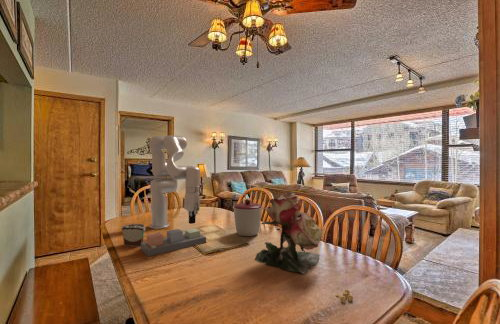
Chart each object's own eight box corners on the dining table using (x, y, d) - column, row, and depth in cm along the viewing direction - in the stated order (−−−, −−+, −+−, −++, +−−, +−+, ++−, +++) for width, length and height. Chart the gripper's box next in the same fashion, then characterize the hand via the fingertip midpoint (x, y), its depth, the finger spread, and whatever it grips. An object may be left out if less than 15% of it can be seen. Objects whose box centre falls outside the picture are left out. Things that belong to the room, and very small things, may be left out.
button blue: (166, 240, 125) (166, 230, 125) (177, 238, 129) (178, 228, 129) (171, 243, 121) (171, 233, 121) (182, 241, 124) (182, 231, 124)
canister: (227, 236, 140) (227, 200, 140) (240, 228, 157) (240, 196, 157) (256, 240, 133) (256, 202, 133) (266, 231, 150) (266, 197, 150)
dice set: (348, 294, 81) (348, 289, 81) (356, 303, 76) (356, 297, 76) (333, 295, 81) (333, 290, 81) (341, 304, 76) (341, 298, 76)
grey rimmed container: (150, 242, 129) (150, 223, 129) (143, 246, 123) (143, 227, 123) (128, 241, 131) (128, 223, 131) (121, 245, 125) (121, 226, 124)
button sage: (185, 239, 132) (185, 230, 132) (195, 237, 135) (195, 228, 135) (189, 242, 127) (189, 232, 127) (200, 240, 131) (200, 230, 131)
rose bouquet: (315, 279, 91) (316, 199, 90) (249, 261, 106) (250, 193, 106) (332, 256, 112) (332, 192, 112) (275, 244, 128) (275, 187, 128)
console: (140, 248, 120) (140, 241, 120) (195, 236, 139) (195, 230, 139) (148, 256, 111) (148, 248, 111) (206, 242, 130) (206, 235, 130)
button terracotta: (146, 244, 119) (146, 234, 119) (159, 242, 123) (159, 232, 123) (150, 248, 114) (150, 237, 114) (163, 245, 118) (163, 235, 118)
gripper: (180, 188, 134) (179, 221, 135) (192, 192, 123) (191, 227, 123) (192, 187, 139) (192, 219, 140) (205, 190, 128) (204, 225, 128)
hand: (192, 223), depth 131 cm, fingers closed
